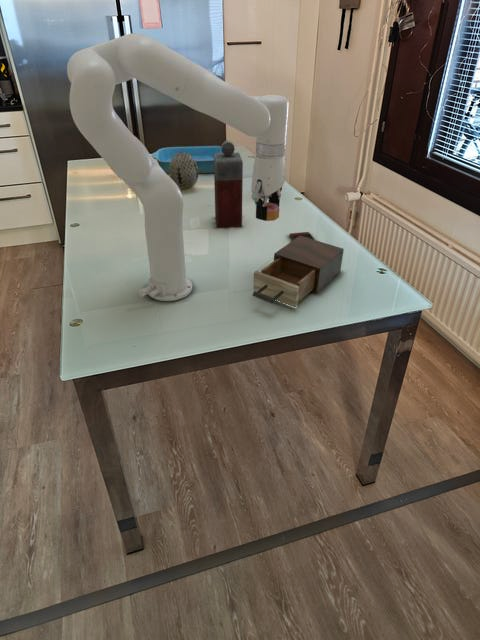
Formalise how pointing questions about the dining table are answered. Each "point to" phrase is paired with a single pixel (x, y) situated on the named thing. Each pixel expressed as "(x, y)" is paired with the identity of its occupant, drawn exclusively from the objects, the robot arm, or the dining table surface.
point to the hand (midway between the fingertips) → (267, 214)
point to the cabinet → (314, 258)
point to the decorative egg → (183, 170)
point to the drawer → (284, 282)
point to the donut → (272, 211)
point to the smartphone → (304, 234)
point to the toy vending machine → (228, 187)
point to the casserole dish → (199, 154)
